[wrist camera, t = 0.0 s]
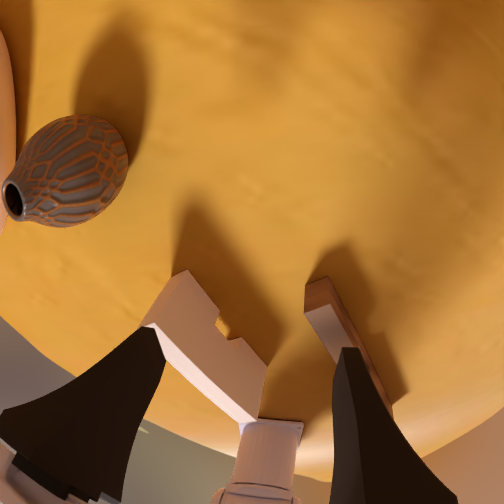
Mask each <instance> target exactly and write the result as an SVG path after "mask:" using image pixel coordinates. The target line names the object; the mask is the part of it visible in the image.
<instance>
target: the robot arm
mask: <svg viewBox="0 0 504 504" xmlns="http://www.w3.org/2000/svg"><path fill="white" fill-rule="evenodd" d="M165 363H166V359H165V356H164V354H163V351H162V348H161V345H160V342H159V340H158V337H157V334H156V331H155V328H150V327H145V326H141V327H140V328H139V329H137V330H136V331H135V332H134V333H133V334H131V335H130V336H129V337H128V338H127V339H126V340H124V341H123V342H122V343H121V344H120V345H119V346H117V347H116V348H115V349H114V350H113V351H111V352H110V353H109V354H108V355H106V356H105V357H104V358H103V359H102V360H100V361H99V362H98V363H96V364H95V365H94V366H92V367H91V368H90V369H88V370H87V371H86V372H84V373H83V374H81V375H80V376H79V377H77V378H76V379H74V380H73V381H71V382H69V383H68V384H66V385H64V386H62V387H61V388H59V389H57V390H55V391H53V392H51V393H49V394H47V395H45V396H43V397H40V398H38V399H36V400H33V401H31V402H28V403H25V404H22V405H19V406H16V407H13V408H9V409H5V410H3V412H2V414H1V415H0V438H1V439H3V440H4V441H5V442H6V443H7V444H8V445H9V446H11V447H12V448H13V449H14V450H16V451H17V453H16V455H15V454H13V453H12V452H11V451H10V450H9V449H7V448H6V447H5V446H4V445H3V444H1V443H0V500H1V502H2V503H3V504H88V501H89V499H91V500H93V501H95V502H97V501H98V499H99V498H100V499H103V500H105V501H107V502H109V503H111V504H119V503H121V498H122V490H123V483H124V478H125V473H126V469H127V464H128V460H129V456H130V453H131V449H132V446H133V442H134V439H135V436H136V433H137V430H138V428H139V425H140V423H141V421H142V419H143V416H144V414H145V412H146V410H147V408H148V406H149V404H150V402H151V400H152V397H153V395H154V393H155V391H156V389H157V387H158V384H159V382H160V379H161V376H162V373H163V370H164V367H165ZM332 413H333V433H334V468H333V478H332V487H331V495H330V502H329V504H458V500H457V496H456V495H455V494H454V493H453V492H451V491H450V490H449V489H448V488H447V487H446V486H445V485H444V484H443V483H442V482H441V481H440V480H439V479H438V478H437V477H436V476H435V475H434V474H433V473H432V471H431V470H430V469H429V468H428V467H427V466H426V465H425V463H424V462H423V461H422V460H421V458H420V457H419V456H418V455H417V453H416V452H415V451H414V450H413V448H412V447H411V446H410V444H409V443H408V441H407V440H406V439H405V437H404V436H403V434H402V433H401V431H400V429H399V428H398V426H397V425H396V423H395V421H394V420H393V418H392V416H391V415H390V413H389V411H388V409H387V407H386V406H385V404H384V402H383V400H382V398H381V396H380V394H379V392H378V390H377V388H376V386H375V384H374V382H373V379H372V377H371V375H370V373H369V370H368V368H367V366H366V363H365V361H364V358H363V356H362V353H361V350H360V349H359V348H358V347H342V348H341V352H340V356H339V360H338V364H337V368H336V371H335V375H334V378H333V393H332ZM303 427H304V423H302V422H292V421H279V420H269V419H260V418H258V419H257V421H254V422H246V423H239V429H240V435H241V441H240V445H239V449H238V453H237V458H236V462H235V466H234V470H233V474H232V478H231V482H230V483H227V486H226V488H220V489H219V490H217V491H216V492H215V493H214V495H213V497H212V499H211V502H210V504H301V501H300V500H299V499H298V497H296V496H293V497H292V493H293V491H291V489H292V482H293V475H294V467H295V459H296V451H297V450H298V447H299V443H300V439H301V435H302V431H303Z"/></svg>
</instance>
